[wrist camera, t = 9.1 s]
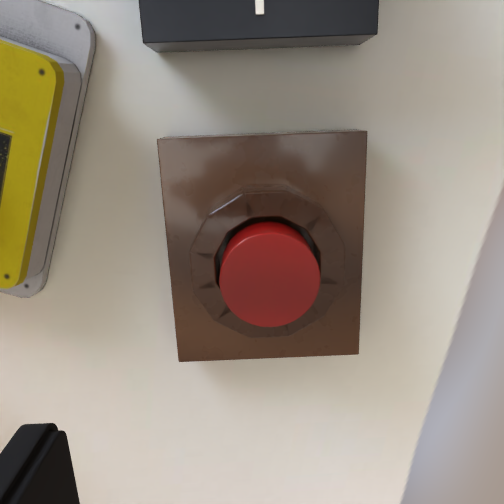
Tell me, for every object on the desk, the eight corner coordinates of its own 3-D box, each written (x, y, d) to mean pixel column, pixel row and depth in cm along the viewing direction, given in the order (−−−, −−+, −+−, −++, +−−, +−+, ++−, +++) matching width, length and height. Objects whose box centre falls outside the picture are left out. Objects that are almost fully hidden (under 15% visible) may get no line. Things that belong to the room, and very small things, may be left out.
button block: (163, 137, 23) (147, 141, 19) (357, 129, 23) (380, 132, 19) (183, 344, 26) (173, 383, 23) (350, 337, 27) (368, 374, 23)
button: (218, 222, 21) (216, 234, 19) (313, 219, 21) (321, 230, 19) (224, 309, 22) (222, 329, 20) (313, 305, 22) (320, 325, 20)
